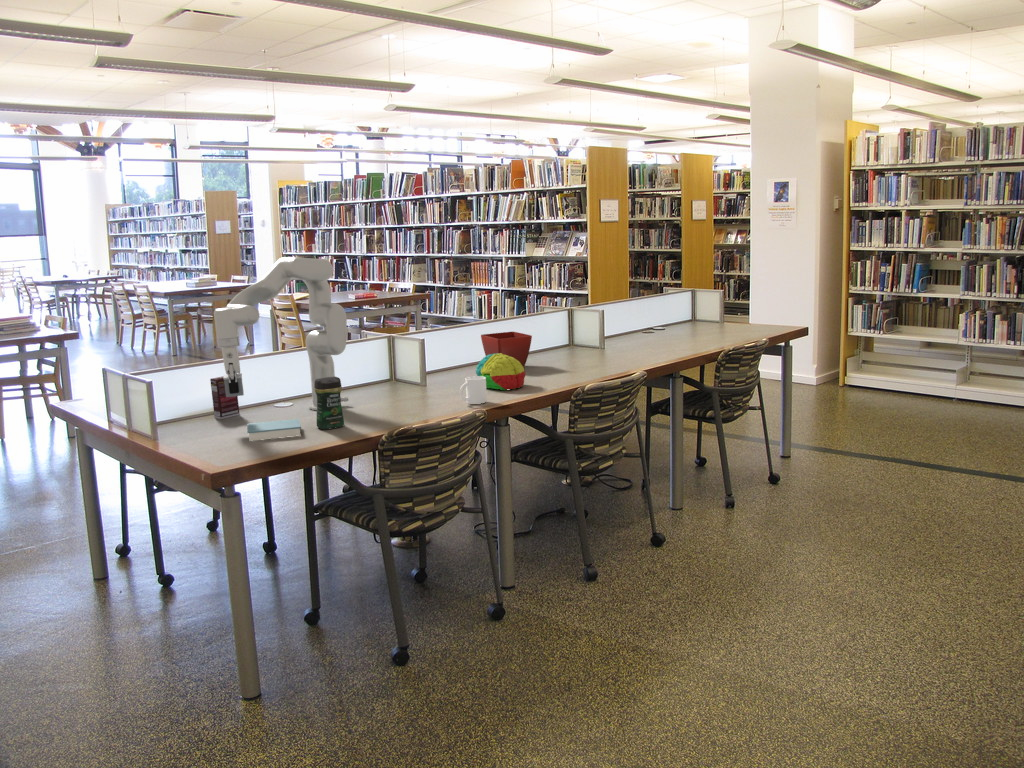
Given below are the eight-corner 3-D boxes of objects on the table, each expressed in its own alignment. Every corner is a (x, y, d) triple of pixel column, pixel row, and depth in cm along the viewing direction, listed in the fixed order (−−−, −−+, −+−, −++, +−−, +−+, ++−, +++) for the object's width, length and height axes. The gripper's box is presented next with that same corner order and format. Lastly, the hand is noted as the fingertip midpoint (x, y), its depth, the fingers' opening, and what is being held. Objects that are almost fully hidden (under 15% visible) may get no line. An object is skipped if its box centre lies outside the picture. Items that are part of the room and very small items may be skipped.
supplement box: (233, 413, 335) (229, 374, 332) (240, 415, 332) (236, 375, 328) (213, 418, 328) (209, 378, 325) (220, 419, 325) (216, 379, 322)
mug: (465, 407, 332) (464, 382, 330) (454, 404, 339) (453, 379, 337) (490, 403, 339) (489, 378, 337) (479, 399, 346) (478, 375, 344)
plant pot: (533, 369, 412) (532, 335, 408) (499, 373, 402) (498, 338, 399) (514, 363, 428) (513, 331, 425) (481, 368, 419) (479, 334, 415)
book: (299, 429, 308) (298, 418, 307) (301, 437, 296) (300, 426, 295) (248, 434, 303) (247, 423, 302) (248, 443, 291) (247, 432, 290)
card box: (243, 392, 309) (241, 373, 307) (243, 395, 304) (241, 376, 302) (226, 394, 307) (223, 375, 306) (225, 397, 302) (223, 378, 300)
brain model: (466, 385, 373) (466, 352, 370) (498, 379, 386) (498, 347, 383) (502, 395, 357) (502, 361, 353) (533, 388, 369) (534, 355, 366)
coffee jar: (322, 431, 302) (318, 380, 298) (314, 427, 308) (310, 377, 305) (347, 426, 307) (344, 377, 303) (338, 423, 313) (335, 374, 310)
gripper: (239, 344, 294) (245, 395, 298) (239, 337, 310) (245, 385, 314) (216, 347, 292) (223, 397, 296) (218, 339, 308) (224, 387, 312)
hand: (234, 390), depth 305 cm, fingers closed on card box, 5 cm apart
